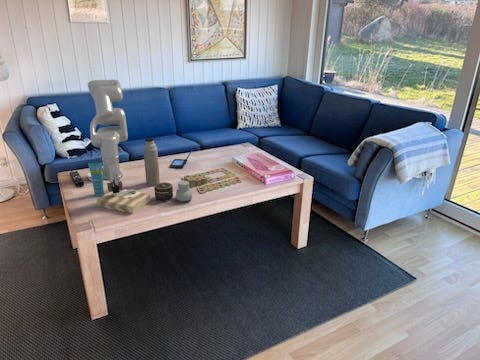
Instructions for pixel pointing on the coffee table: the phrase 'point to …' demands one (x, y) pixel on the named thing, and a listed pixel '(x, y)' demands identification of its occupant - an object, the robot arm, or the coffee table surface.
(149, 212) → the coffee table surface
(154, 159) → the thermos bottle
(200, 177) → the pile of dominoes
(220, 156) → the coffee table surface
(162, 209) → the coffee table surface
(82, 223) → the coffee table surface
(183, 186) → the pale green rounded vessel
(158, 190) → the jar
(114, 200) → the tan flat box
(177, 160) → the handheld game console
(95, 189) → the tube
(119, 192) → the peg
